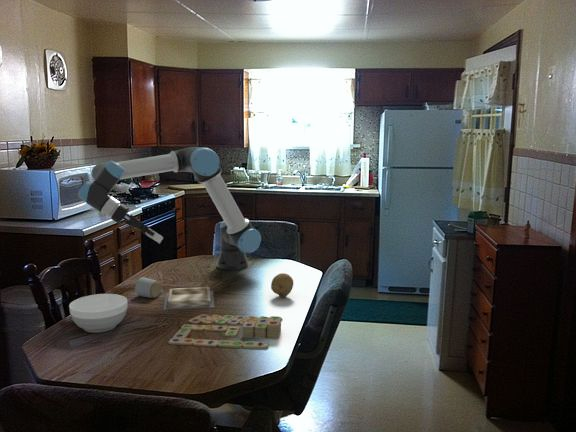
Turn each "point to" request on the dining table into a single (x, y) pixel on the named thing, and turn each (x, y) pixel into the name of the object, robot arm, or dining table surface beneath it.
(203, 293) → the tray
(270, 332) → the pile of dominoes
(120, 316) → the bowl
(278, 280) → the natural sponge
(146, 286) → the ceramic mug
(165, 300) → the mat
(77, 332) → the dining table surface
